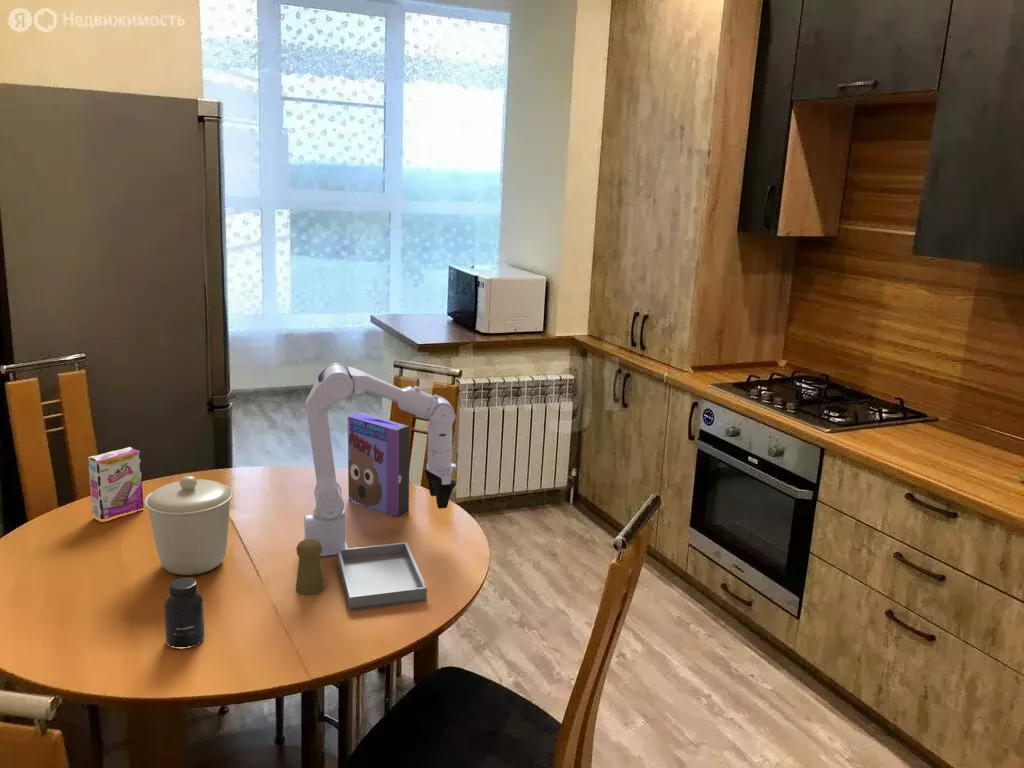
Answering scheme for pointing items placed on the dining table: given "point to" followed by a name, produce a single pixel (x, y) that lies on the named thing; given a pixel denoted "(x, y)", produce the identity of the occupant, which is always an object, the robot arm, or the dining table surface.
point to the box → (380, 576)
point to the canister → (190, 524)
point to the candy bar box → (115, 482)
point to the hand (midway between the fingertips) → (438, 501)
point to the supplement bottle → (184, 613)
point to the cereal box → (378, 464)
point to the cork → (309, 568)
